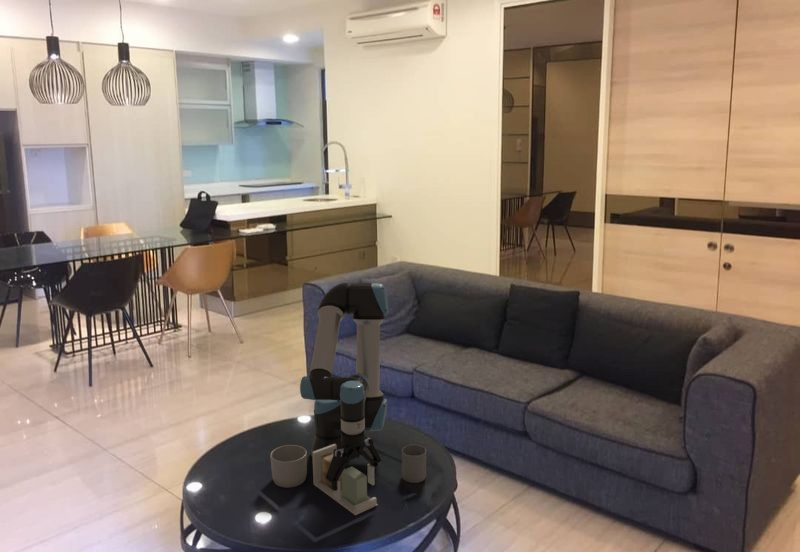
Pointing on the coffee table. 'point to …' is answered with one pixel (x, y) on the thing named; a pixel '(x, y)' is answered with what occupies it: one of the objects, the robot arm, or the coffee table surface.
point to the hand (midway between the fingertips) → (354, 490)
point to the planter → (289, 465)
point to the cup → (413, 463)
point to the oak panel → (325, 466)
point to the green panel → (354, 486)
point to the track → (318, 483)
